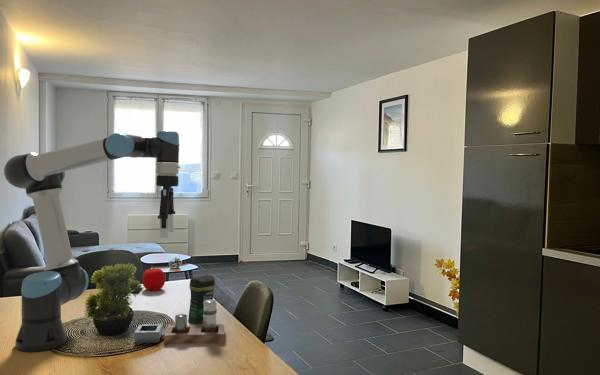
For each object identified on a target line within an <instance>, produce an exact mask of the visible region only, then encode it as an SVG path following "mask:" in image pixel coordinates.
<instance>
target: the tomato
mask: <svg viewBox="0 0 600 375" xmlns="http://www.w3.org/2000/svg"><path fill="white" fill-rule="evenodd" d="M165 276H166V275H165V273H164V270H162V269H161V268H159V267H158V268H155V267H152V268H147V269H146V270H144V272H143V273H142V282H141V283H142V285H143V288H144V289H146V290H147V291H158V290H159V291H160V290H161V289H163V287H164V286H165V283H166V277H165Z"/></svg>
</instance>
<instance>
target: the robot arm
mask: <svg viewBox="0 0 600 375" xmlns="http://www.w3.org/2000/svg"><path fill="white" fill-rule="evenodd" d="M179 136H180V135H179V133H178V132H177V131H174V130H173V131H172V130H158V131H157V132H156V136H149V135H148V136H147V135H145V136H144V135H137V134H130V133H125V132H115V133H112V134H110V135H108V137H103V138H99V139H95V140H91V141H86V142H83V143H80V144H76V145H70V146H67V147H63V148H62V147H61V148H59V149H54V150H50V151H46V152H42V153H39V154H38V153H37V152H30V153H26V154H20V155H15V156H12V157H11V158H10V159H8V161H7V162H6V163H5V164H4V168H3V172H4V173H3V174H4V177H5V179H6V181H7V182H8V183H9V184H10V185H11V186H14V187H15V188H18V189H22V190H24V189H25V193H26V196H27V197H29V198H31V199H32V202H33V208H34V211H35V215H36V220H37V225H38V230H39V233H40V238H41V243H42V246H43V253H44V256H45V260H46V265H45V266H44V268H43V271H40V272H35V273H31V274H29V275H27V276H26V277H24V278H23V280H22V283H21V289H20V292H21V293H20V294H21V324H20V327H19V329H18V333H17V335H16V338H15V349H16V350H17V351H21V352H26V353H27V352H28V353H36V352H43V351H48V350H53V349H57V348H59V347H61V346H62V345H64V344H65V343H66V342H67V331H66V329H65V327H64V324H63V320H62V305H65V304H66V303H69V302H70V301H74V300H76V299H78V298H79V297H80V296H82V295H83V294H84V293H85V292H86V291H87V289H88V286H89V282H90V281H89V274H88V273H87V271H86V270H85V269H83V267H81V266H80V262H79V260H77V259H76V258H74V256H73V251H72V247H71V243H70V239H69V234H68V229H67V226H66V221H65V217H64V212H63V206H62V202H61V197H60V194H61V192H62V190H63V186H62V183H63V181H64V179H65V176H66V173H65V172H67V171H72V170H75V169H80V168H85V167H88V166H91V165H96V164H101V163H105V162H108V161H113V160H117V159H122V158H156V169H155V170H156V174H157V175H156V179H155V180H156V182H155V183H156V184H155V185H156V186H158V187H162V189H160V203H159V204H160V205H159V214H158V215H157V219H158V220H159V239H168V238H169V233H173V232H174V215H176V211H175V206H174V205H175V204H174V195H175V193H174V187H178V186H179V175H178V174H179V169H181V165H179V164H180V163H179V162H180V160H179V159H180V158H179V156H180V137H179ZM60 345H61V346H60ZM58 346H59V347H58Z"/></svg>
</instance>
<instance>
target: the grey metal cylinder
mask: <svg viewBox="0 0 600 375" xmlns="http://www.w3.org/2000/svg"><path fill="white" fill-rule="evenodd" d="M217 313H218V309H217V300H215V299H213V300H205V301H204V309H203V314H204V318H203V324H202V325H203V332H216V324H217Z"/></svg>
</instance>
